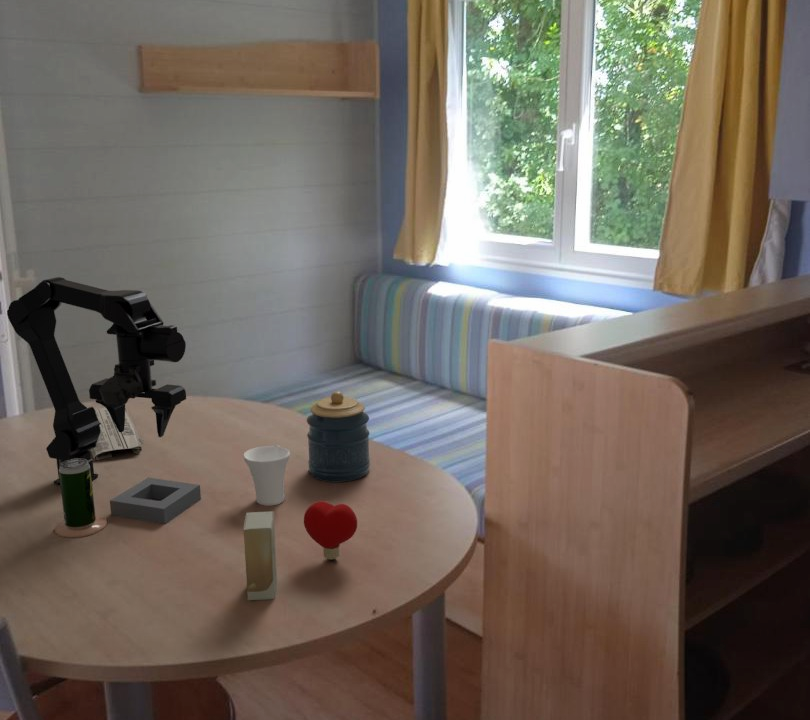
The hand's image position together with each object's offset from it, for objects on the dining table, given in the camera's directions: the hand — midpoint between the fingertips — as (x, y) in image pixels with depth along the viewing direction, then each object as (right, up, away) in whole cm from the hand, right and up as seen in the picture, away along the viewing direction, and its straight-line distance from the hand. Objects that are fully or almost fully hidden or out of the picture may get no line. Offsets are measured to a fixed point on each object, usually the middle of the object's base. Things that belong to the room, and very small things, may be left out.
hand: (141, 434), depth 175 cm
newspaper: (-18, -4, +38) cm, 42 cm away
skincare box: (+29, -22, -35) cm, 51 cm away
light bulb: (+40, -19, -25) cm, 51 cm away
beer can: (-8, -16, -12) cm, 21 cm away
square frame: (+4, -14, -3) cm, 15 cm away
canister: (+38, -9, +13) cm, 41 cm away
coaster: (-8, -16, -12) cm, 21 cm away
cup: (+25, -13, -1) cm, 29 cm away
